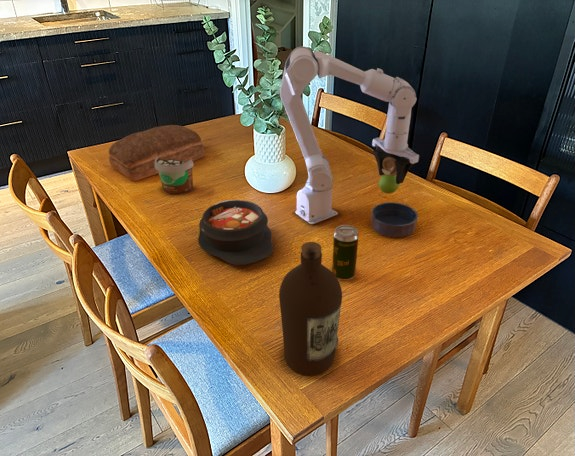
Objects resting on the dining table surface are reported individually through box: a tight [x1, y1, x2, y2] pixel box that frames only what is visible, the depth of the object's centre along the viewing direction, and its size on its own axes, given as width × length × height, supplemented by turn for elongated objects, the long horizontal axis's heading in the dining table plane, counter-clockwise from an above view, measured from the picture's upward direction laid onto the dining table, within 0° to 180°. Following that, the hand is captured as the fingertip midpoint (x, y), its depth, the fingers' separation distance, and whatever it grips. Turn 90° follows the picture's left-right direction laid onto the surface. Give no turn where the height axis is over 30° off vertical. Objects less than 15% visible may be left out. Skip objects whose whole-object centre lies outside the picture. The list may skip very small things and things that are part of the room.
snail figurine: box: [378, 156, 400, 195], centre depth 123 cm, size 5×6×12 cm
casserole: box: [197, 199, 275, 266], centre depth 115 cm, size 25×19×8 cm
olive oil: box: [278, 241, 343, 377], centre depth 79 cm, size 11×11×25 cm
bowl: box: [369, 201, 419, 239], centre depth 121 cm, size 12×12×4 cm
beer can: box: [331, 224, 359, 282], centre depth 102 cm, size 5×5×12 cm
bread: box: [108, 124, 206, 182], centre depth 156 cm, size 17×29×11 cm, turn 133°
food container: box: [155, 156, 195, 196], centre depth 138 cm, size 12×6×10 cm, turn 76°
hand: (391, 178), depth 123 cm, fingers closed on snail figurine, 6 cm apart
